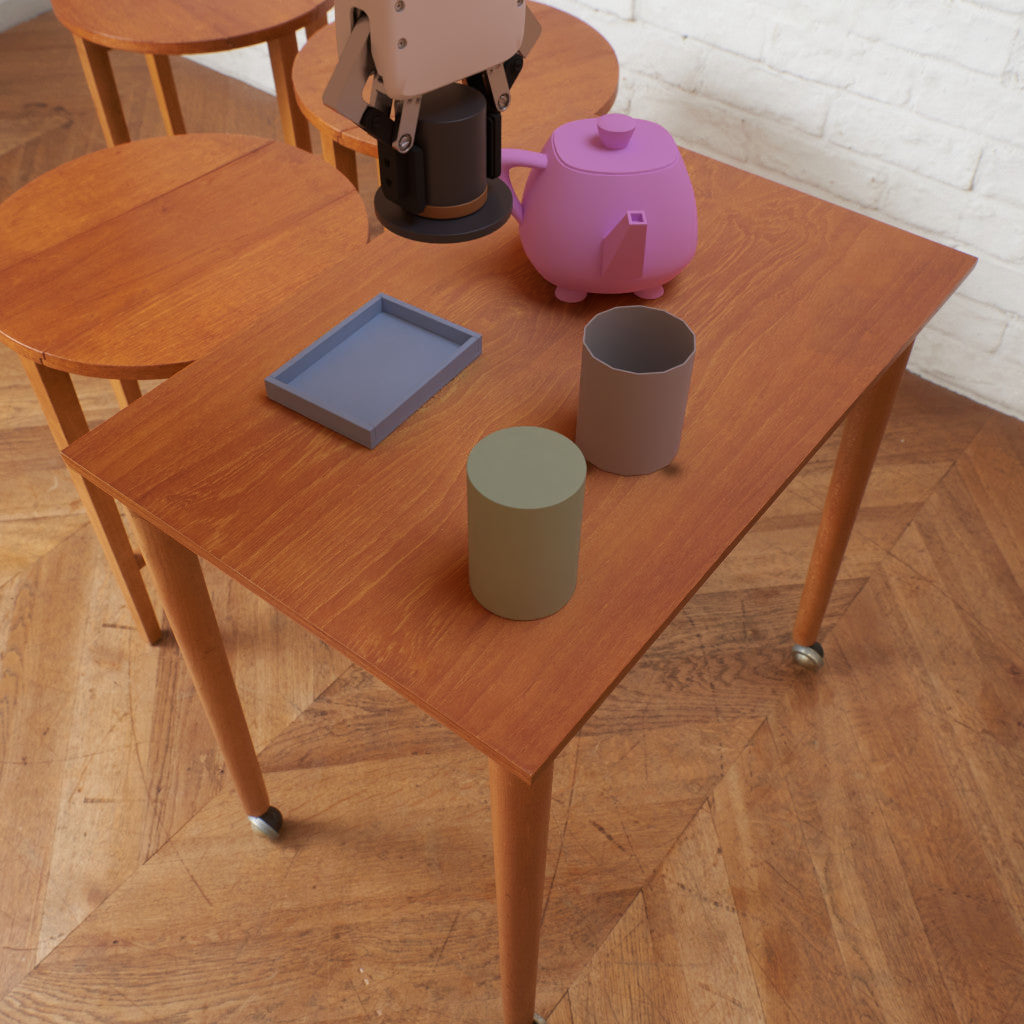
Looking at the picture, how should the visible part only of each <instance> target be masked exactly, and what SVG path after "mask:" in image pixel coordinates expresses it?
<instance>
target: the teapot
mask: <svg viewBox="0 0 1024 1024" xmlns="http://www.w3.org/2000/svg"><path fill="white" fill-rule="evenodd" d="M512 168H529V169H530V171H529V173H528V175H527V178H526V181H525V185H524V189H523V193H522V197H521V201H520V199H519V198H518V196H517V194H516V192H515V189H514V187H513V185H512V182H511V178H510V170H512ZM498 178H500V179H501V180H502V181H503V182H505V184H506V185H507V186H508V187H509V189H510V190H511V193H512V196H513V210H512V214H511V216H512V218H514V219H515V221H516V222H517V223H518V235H519V239H520V242H521V246H522V248H523V250H524V253H525V255H526V256H527V258H528V260H529V261H530V263H531V265H532V266H533V267H534V269H535V270H536V271H537V272H538V274H540V276H541V277H542V278H543V279H544V280H545V281H547V282H548V283H550V284H552V285H555V286H556V288H555V291H554V295H555V297H556V299H558V300H559V301H561V302H564V303H568V304H569V303H579V302H582V301H584V300H585V299H586V298H587V296H588V293H589V294H590V293H591V294H603V295H605V294H606V295H607V294H610V295H612V294H613V295H615V294H628V293H633V294H634V295H635V296H636V297H637V298H640V299H644V300H655V299H658V298H660V297H662V296H663V295H664V294H665V289H664V286H663V285H665V284H667V283H669V282H671V281H672V280H674V278H676V277H677V276H678V275H679V274H681V272H683V271H684V270H685V269H686V268H687V267H688V266H689V264H690V263H691V262H692V261H693V258H694V257H695V255H696V252H697V248H698V241H699V240H698V239H699V238H698V237H699V234H698V233H699V220H698V209H697V201H696V196H695V190H694V187H693V184H692V181H691V178H690V175H689V172H688V170H687V167H686V163H685V161H684V159H683V156H682V153H681V151H680V149H679V147H678V145H677V143H676V141H675V139H674V137H673V136H672V134H671V133H670V132H669V131H668V130H667V129H666V128H665V127H664V126H662V125H661V124H659V123H656V122H654V121H650V120H646V119H640V118H634V117H633V116H630V115H627V114H623V113H605V114H603V115H601V116H599V117H590V118H582V119H577V120H572V121H568V122H566V123H563V124H561V125H560V126H558V127H556V129H554V130H553V132H552V133H551V134H550V136H549V137H548V139H547V140H546V142H545V143H544V144H543V146H542V148H541V150H540V152H537V151H532V150H527V149H521V148H511V147H509V148H507V147H506V148H502V147H501V175H500V176H499V177H498Z"/></svg>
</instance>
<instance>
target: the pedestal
mask: <svg viewBox="0 0 1024 1024" xmlns="http://www.w3.org/2000/svg"><path fill="white" fill-rule="evenodd" d="M465 470H466V471H465V472H466V509H467V549H468V551H467V552H468V554H467V555H468V579H469V580H468V583H469V587H470V590H471V593H472V595H473V597H474V598H475V599H476V601H477V602H478V603H479V604H480V605H481V606H482V607H483V608H484V609H486V610H487V611H489V612H490V613H492V614H494V615H495V616H498V617H500V618H504V619H508V620H513V621H535V620H540V619H543V618H547V617H550V616H551V615H553V614H555V613H557V612H559V611H560V610H561V609H563V608H564V607H565V606H566V605H567V604H568V603H569V602H570V600H572V598H573V596H574V595H575V592H576V589H577V584H578V583H577V582H578V571H579V561H580V559H579V558H580V551H581V538H582V526H583V518H584V517H583V516H584V504H585V492H586V483H587V471H588V469H587V460H586V459H585V458H584V456H583V454H582V452H581V451H580V449H579V448H578V447H577V446H576V444H575V442H574V441H572V440H571V439H570V438H569V437H567V436H565V435H563V434H561V433H559V432H557V431H556V430H552V429H548V428H546V427H540V426H531V425H522V426H521V425H518V426H510V427H505V428H502V429H499V430H495V431H494V432H492V433H489V434H488V435H486V436H484V437H483V438H482V439H480V440H479V441H478V442H477V443H476V444H475V445H474V446H473V447H472V449H471V450H470V452H469V454H468V456H467V460H466V466H465Z"/></svg>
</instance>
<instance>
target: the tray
mask: <svg viewBox="0 0 1024 1024" xmlns="http://www.w3.org/2000/svg"><path fill="white" fill-rule="evenodd" d="M482 354H483V335H482V334H481V333H479V332H476V331H474V330H472V329H469V328H467V327H464V326H462V325H459V324H457V323H455V322H452V321H451V320H448V319H446V318H443V317H441V316H439V315H436V314H434V313H431V312H429V311H426V310H425V309H422V308H420V307H417V306H414V305H412V304H410V303H407V302H405V301H403V300H401V299H398V298H396V297H393V296H391V295H389V294H386V293H384V292H379V293H378V294H377V295H375V296H374V297H372V298H371V299H370V300H368V301H367V302H366V303H364V304H363V305H362V306H360V307H358V308H357V309H356V310H355V311H353V312H352V313H351V314H350V315H348V316H347V317H346V318H344V319H343V320H341V321H340V322H339V323H338V324H336V325H335V326H333V327H332V328H331V329H330V330H329V331H327V332H325V333H324V334H323V335H321V336H320V337H319V338H318V339H316V340H315V341H314V342H312V343H310V344H309V345H308V346H307V347H305V348H304V349H302V350H301V351H300V352H299V353H297V354H296V355H295V356H293V357H292V358H291V359H289V360H288V361H287V362H285V363H283V365H281V366H280V367H278V368H277V369H276V370H274V371H273V372H271V373H270V374H269V375H268V376H266V377H265V378H264V379H263V381H264V386H265V391H266V396H267V398H268V399H270V400H271V401H273V402H276V404H279V405H282V406H283V407H285V408H287V409H289V410H291V411H293V412H295V413H298V414H300V415H301V416H304V417H306V418H308V419H310V420H312V421H314V422H315V423H317V424H319V425H321V426H323V427H325V428H328V429H329V430H331V431H334V432H335V433H337V434H339V435H341V436H343V437H346V438H348V439H349V440H352V441H353V442H355V443H357V444H360V445H362V446H364V448H367V449H369V450H373V449H374V448H376V447H377V446H378V445H379V444H381V442H383V441H384V440H385V439H386V438H387V437H388V436H389V435H390V434H392V433H393V432H394V431H395V430H397V428H399V427H400V426H401V425H402V424H404V422H406V421H407V420H408V419H409V418H410V417H411V416H413V414H415V413H416V412H417V411H418V410H419V409H420V408H421V407H422V406H424V405H425V404H426V403H427V402H428V401H430V400H431V399H432V398H433V397H434V396H435V395H436V394H437V393H439V392H440V391H441V390H442V389H443V388H445V386H447V385H448V384H449V383H451V381H452V380H453V379H454V378H456V377H457V376H458V375H459V374H460V373H461V372H462V371H464V370H465V369H466V368H467V367H469V365H471V364H472V363H473V362H474V361H475V360H476V359H477V358H478V357H480V356H481V355H482Z"/></svg>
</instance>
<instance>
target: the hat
mask: <svg viewBox="0 0 1024 1024" xmlns="http://www.w3.org/2000/svg"><path fill="white" fill-rule="evenodd" d="M397 103H398V101H396V100H394V99H393V110H394V111H393V112H394V116H395V115H396V109H397ZM413 144H414V145H416V146H418V147H419V148H421V149H422V152H423V162H424V182H425V202H426V207H425V209H424V211H423V212H422V213H420V214H417V215H413V214H412V213H410V212H408V211H407V210H405V209H403V208H402V207H400V206H398V205H397V204H395V203H393V202H392V201H390V200H388V199H387V198H386V197H385V196H384V194H383V190H382V188H381V185H379V186H378V187H377V190H376V191H375V193H374V194H375V195H373V196H374V197H373V207H374V208H373V210H374V214H375V217H376V219H377V221H379V223H380V224H381V225H382V226H383V227H384V228H385V229H386V230H388V232H391V233H393V234H394V235H396V236H399V237H401V238H404V239H406V240H410V241H413V242H414V241H415V242H419V243H425V244H433V245H434V244H436V245H444V244H445V245H446V244H447V245H450V244H451V245H452V244H461V243H467V242H471V241H475V240H478V239H481V238H484V237H486V236H489V235H491V234H493V233H495V232H496V231H498V230H500V229H501V228H502V227H503V226H505V224H506V223H507V222H508V221H509V219H510V218H511V216H512V215H511V214H512V210H513V196H512V193H511V190H510V189H509V187H508V186H507V185H506V184H505V182H503V181H502V180H501V179H500V178H498V177H497V178H495V179H490V178H487V177H486V99H485V97H484V95H483V94H482V93H481V92H480V91H478V90H477V89H475V88H473V87H470V86H468V85H464V84H462V83H460V82H454V83H452V84H449V85H447V86H444V87H442V88H439V89H436V90H434V91H431V92H428V93H426V94H423V95H422V100H421V105H420V111H419V116H418V121H417V127H416V132H415V138H414V143H413Z"/></svg>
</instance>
